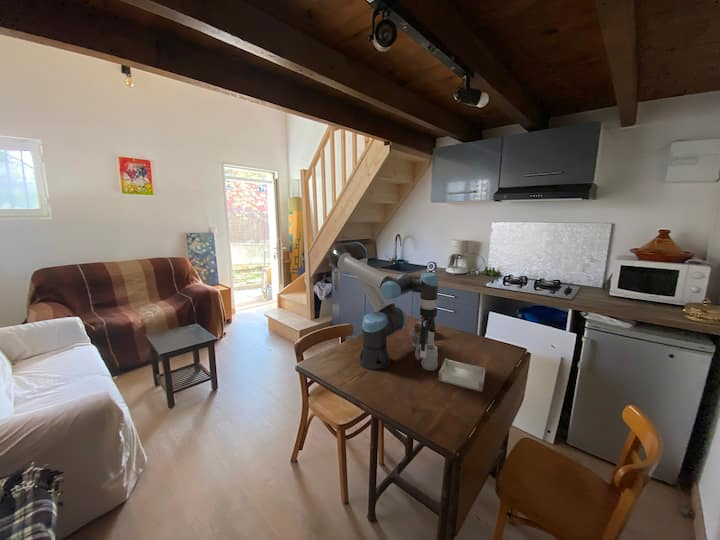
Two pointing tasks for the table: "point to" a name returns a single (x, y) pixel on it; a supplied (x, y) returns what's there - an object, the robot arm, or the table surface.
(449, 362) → the crate
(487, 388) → the table surface
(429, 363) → the mug
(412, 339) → the pottery
